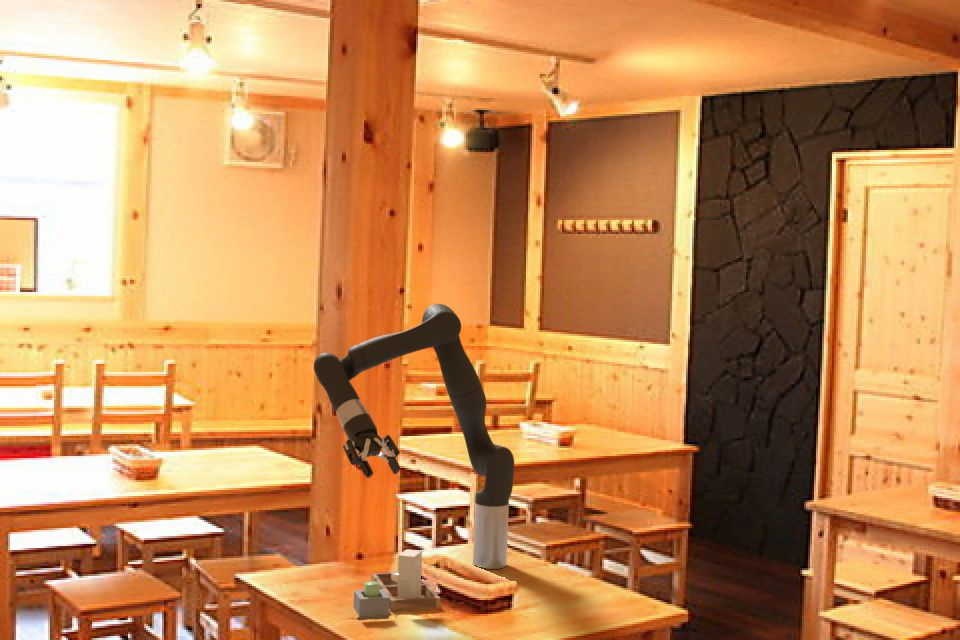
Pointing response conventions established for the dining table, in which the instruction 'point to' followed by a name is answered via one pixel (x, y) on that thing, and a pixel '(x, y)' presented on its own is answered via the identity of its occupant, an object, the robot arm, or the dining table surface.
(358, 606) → the grey square open box
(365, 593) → the button
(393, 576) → the beige rounded cylinder
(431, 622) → the dining table surface
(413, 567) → the skincare box
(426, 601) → the tray
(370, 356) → the robot arm
